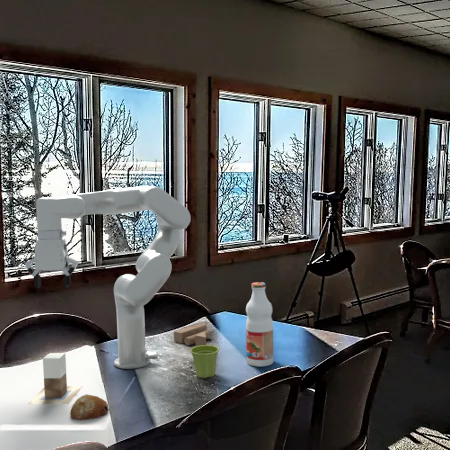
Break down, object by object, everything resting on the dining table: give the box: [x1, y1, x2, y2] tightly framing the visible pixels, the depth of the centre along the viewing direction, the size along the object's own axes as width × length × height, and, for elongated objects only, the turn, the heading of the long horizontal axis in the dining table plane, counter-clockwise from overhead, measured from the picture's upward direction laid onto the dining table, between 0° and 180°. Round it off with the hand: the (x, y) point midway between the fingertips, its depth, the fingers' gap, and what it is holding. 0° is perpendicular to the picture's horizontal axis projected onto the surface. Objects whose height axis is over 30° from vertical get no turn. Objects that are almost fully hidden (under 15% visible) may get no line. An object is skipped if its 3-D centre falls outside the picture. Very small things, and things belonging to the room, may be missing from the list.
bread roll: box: [69, 394, 110, 421], centre depth 160 cm, size 10×10×8 cm
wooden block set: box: [173, 322, 211, 347], centre depth 230 cm, size 17×6×18 cm
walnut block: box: [43, 372, 68, 398], centre depth 173 cm, size 5×5×6 cm
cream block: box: [42, 352, 67, 379], centre depth 173 cm, size 5×5×6 cm
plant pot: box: [190, 344, 220, 379], centre depth 190 cm, size 9×9×9 cm
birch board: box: [27, 385, 83, 405], centre depth 173 cm, size 12×14×1 cm
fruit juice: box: [245, 281, 275, 368], centre depth 200 cm, size 9×9×28 cm
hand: (52, 287), depth 189 cm, fingers open, 9 cm apart
